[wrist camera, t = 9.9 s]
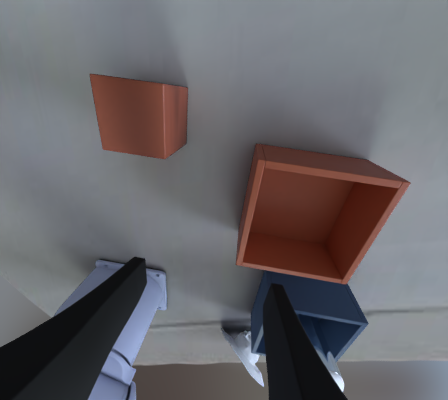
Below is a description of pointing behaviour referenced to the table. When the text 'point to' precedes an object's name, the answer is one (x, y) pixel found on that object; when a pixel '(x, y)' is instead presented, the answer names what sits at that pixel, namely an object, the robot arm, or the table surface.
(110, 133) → the block
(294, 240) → the terracotta bin
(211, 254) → the table surface
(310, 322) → the milkshake
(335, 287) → the slate bin
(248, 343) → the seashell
